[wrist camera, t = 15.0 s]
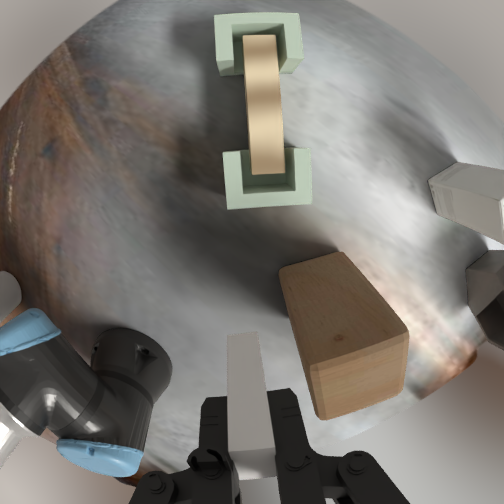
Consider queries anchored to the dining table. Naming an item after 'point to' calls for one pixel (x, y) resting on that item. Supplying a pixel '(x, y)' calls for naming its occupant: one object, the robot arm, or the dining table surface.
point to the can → (8, 294)
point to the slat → (263, 104)
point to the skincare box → (471, 197)
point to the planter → (488, 295)
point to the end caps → (238, 162)
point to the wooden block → (343, 335)
